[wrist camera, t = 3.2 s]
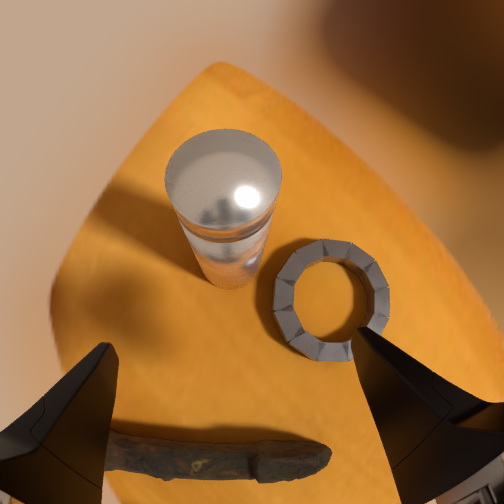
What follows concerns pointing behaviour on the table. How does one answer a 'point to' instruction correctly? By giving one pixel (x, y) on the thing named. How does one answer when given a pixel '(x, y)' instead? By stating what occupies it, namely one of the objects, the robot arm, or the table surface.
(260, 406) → the table surface
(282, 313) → the ring
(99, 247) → the table surface
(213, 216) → the silver metal cylinder
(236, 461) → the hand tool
